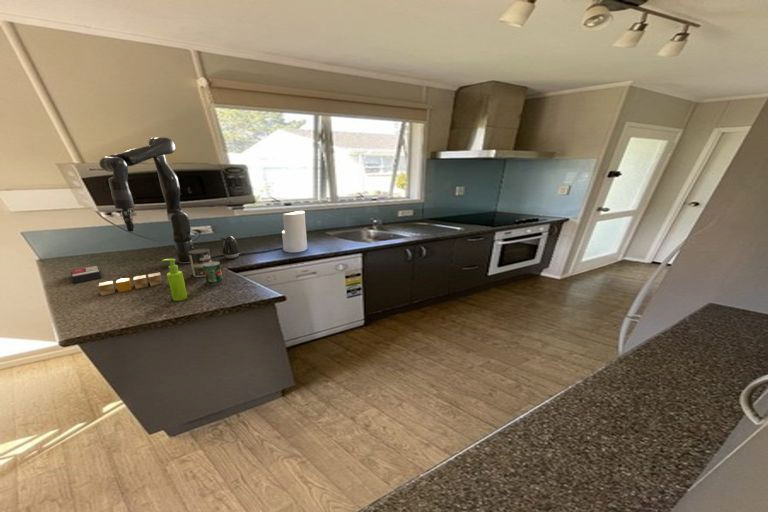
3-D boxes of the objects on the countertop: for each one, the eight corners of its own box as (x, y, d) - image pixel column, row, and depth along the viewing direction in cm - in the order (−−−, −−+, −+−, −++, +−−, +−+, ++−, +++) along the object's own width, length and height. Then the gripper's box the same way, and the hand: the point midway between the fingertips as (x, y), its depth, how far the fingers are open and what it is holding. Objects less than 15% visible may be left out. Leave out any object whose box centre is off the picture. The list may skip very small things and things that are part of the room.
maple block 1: (115, 289, 145) (112, 280, 144) (114, 292, 142) (112, 283, 140) (102, 292, 142) (99, 282, 141) (101, 295, 139) (98, 286, 137)
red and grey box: (97, 265, 167) (99, 270, 157) (99, 271, 169) (101, 277, 159) (70, 269, 160) (70, 275, 150) (73, 276, 161) (73, 283, 151)
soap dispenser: (175, 295, 140) (166, 257, 134) (190, 295, 140) (181, 257, 134) (167, 301, 134) (157, 261, 128) (183, 300, 135) (174, 261, 129)
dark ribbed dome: (225, 255, 198) (221, 234, 194) (241, 254, 201) (238, 233, 197) (222, 260, 189) (218, 238, 184) (239, 259, 192) (236, 237, 187)
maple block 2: (162, 280, 157) (159, 272, 155) (162, 283, 153) (160, 275, 151) (150, 282, 154) (148, 274, 152) (150, 286, 150) (148, 277, 148)
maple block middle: (148, 283, 153) (145, 274, 151) (148, 286, 149) (145, 277, 148) (136, 285, 150) (133, 276, 148) (135, 288, 146) (133, 279, 145)
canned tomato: (204, 282, 156) (201, 263, 152) (220, 278, 161) (217, 260, 158) (208, 286, 150) (205, 267, 147) (225, 282, 156) (221, 263, 152)
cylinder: (312, 248, 219) (309, 212, 210) (294, 253, 205) (291, 215, 196) (296, 244, 228) (293, 209, 219) (278, 249, 214) (274, 212, 205)
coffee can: (217, 271, 170) (213, 249, 166) (201, 278, 161) (197, 254, 156) (204, 269, 173) (200, 247, 169) (188, 275, 164) (183, 252, 160)
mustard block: (131, 286, 149) (129, 277, 148) (131, 289, 145) (129, 280, 144) (119, 288, 146) (116, 279, 145) (118, 292, 142) (115, 283, 141)
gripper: (132, 199, 141) (140, 231, 147) (132, 196, 152) (140, 226, 157) (111, 200, 137) (120, 233, 142) (113, 197, 147) (122, 228, 153)
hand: (131, 229), depth 150 cm, fingers open, 8 cm apart
